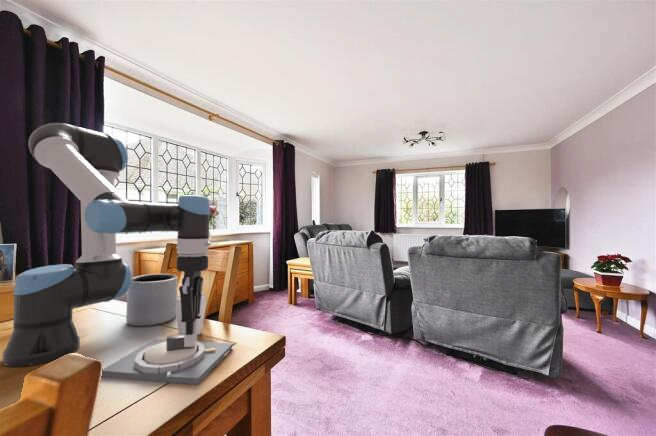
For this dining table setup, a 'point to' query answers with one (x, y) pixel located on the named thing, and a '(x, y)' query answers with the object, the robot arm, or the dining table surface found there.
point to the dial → (169, 351)
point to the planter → (151, 299)
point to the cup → (199, 321)
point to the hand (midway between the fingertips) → (190, 345)
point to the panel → (169, 365)
